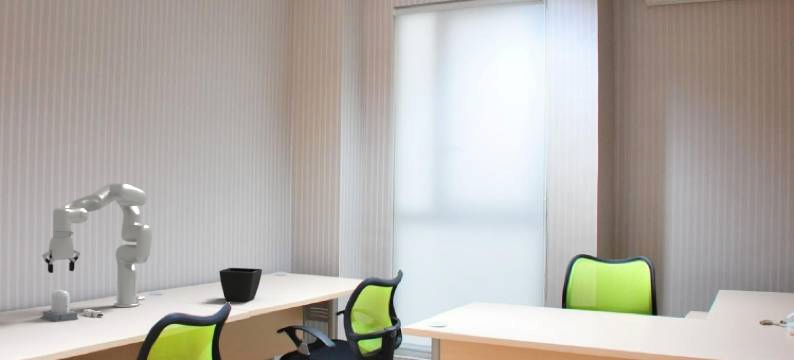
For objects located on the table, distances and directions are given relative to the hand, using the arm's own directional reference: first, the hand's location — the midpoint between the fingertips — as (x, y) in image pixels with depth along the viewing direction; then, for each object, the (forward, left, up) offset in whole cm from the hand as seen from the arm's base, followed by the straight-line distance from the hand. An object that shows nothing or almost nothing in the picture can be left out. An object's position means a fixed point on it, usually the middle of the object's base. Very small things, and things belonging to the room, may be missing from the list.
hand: (61, 271), depth 336 cm
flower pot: (-95, +12, -22) cm, 98 cm away
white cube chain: (-14, +4, -22) cm, 26 cm away
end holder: (0, 0, -22) cm, 22 cm away
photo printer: (0, 0, -21) cm, 21 cm away
